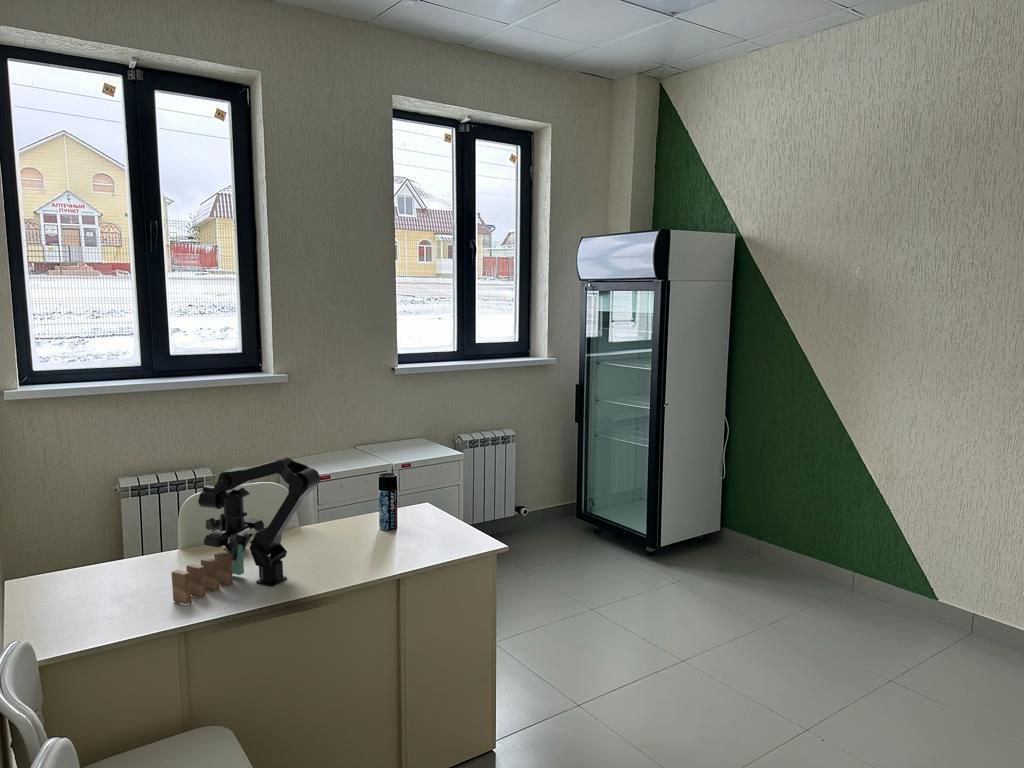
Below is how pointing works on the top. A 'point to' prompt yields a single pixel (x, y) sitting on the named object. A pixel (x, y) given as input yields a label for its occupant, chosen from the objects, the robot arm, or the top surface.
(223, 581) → the wooden block
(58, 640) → the top surface
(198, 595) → the tile
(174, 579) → the brown wooden block
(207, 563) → the tile
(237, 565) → the tile
